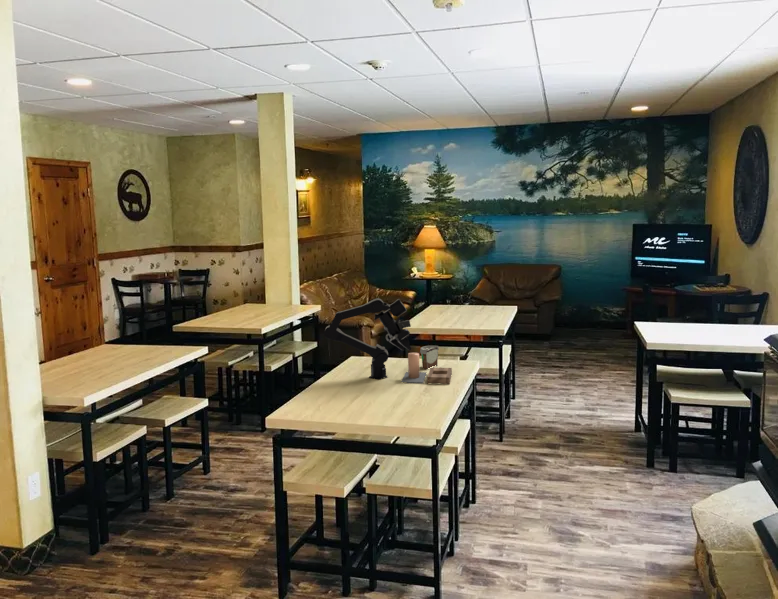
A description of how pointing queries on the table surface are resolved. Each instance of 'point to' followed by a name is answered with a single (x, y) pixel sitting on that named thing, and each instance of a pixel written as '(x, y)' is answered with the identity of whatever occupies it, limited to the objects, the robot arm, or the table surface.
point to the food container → (429, 356)
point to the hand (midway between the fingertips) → (406, 350)
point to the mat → (414, 380)
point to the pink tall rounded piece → (413, 365)
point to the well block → (439, 375)
